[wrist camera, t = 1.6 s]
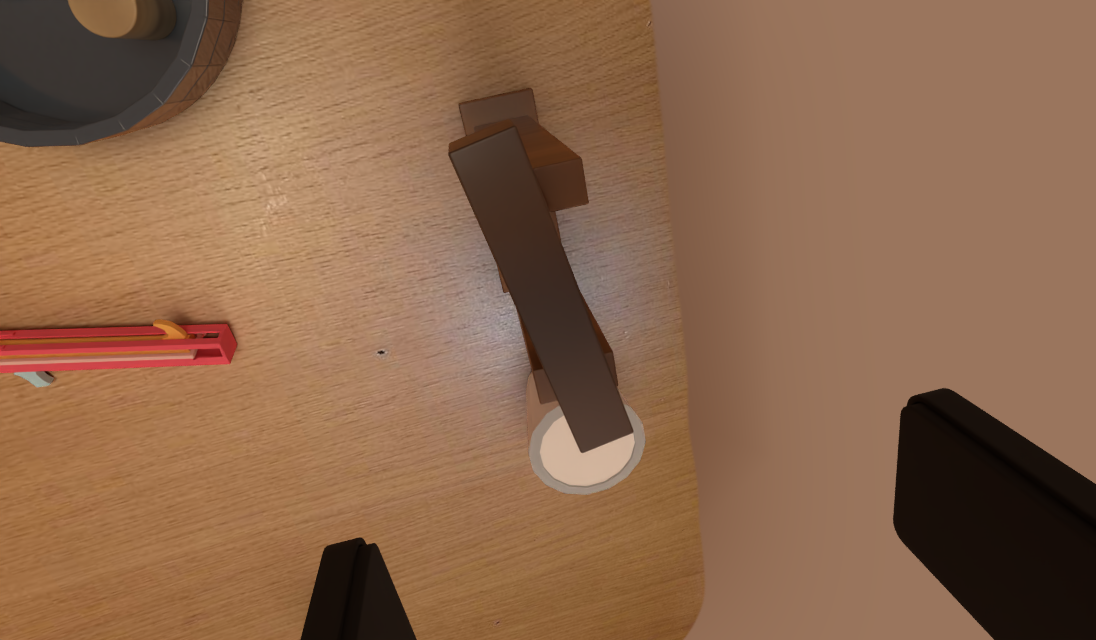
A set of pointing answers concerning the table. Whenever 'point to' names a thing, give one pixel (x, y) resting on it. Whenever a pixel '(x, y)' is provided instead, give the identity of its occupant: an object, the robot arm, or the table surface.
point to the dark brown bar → (540, 280)
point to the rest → (557, 182)
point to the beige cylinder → (577, 450)
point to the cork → (126, 18)
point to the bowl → (103, 71)
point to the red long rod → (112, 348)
